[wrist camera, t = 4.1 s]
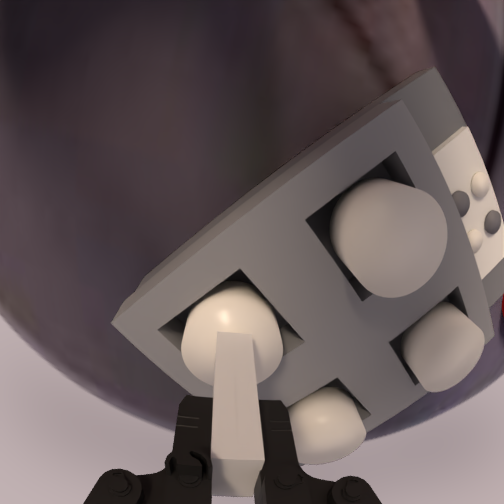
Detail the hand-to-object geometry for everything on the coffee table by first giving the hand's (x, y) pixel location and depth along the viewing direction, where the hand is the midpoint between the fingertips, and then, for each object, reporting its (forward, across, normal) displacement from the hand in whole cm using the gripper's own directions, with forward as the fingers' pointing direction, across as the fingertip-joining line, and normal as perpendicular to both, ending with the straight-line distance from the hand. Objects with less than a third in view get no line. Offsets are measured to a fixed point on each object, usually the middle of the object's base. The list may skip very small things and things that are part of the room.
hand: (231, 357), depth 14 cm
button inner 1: (+4, 0, 0) cm, 4 cm away
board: (+6, +8, +2) cm, 11 cm away
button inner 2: (+3, +6, +6) cm, 9 cm away
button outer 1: (+2, +6, -7) cm, 9 cm away
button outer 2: (+3, +13, 0) cm, 13 cm away
